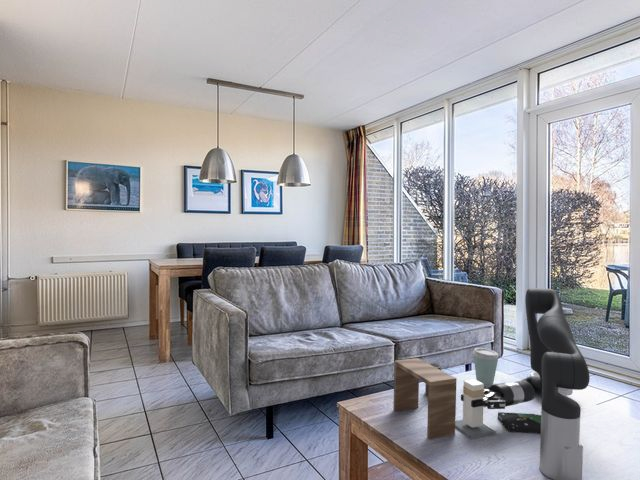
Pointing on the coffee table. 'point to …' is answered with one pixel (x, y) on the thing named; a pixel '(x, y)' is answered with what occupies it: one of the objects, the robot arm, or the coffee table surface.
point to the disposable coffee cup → (485, 365)
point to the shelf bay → (438, 394)
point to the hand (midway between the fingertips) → (466, 400)
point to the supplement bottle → (427, 384)
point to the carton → (470, 392)
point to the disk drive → (520, 422)
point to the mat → (473, 429)
